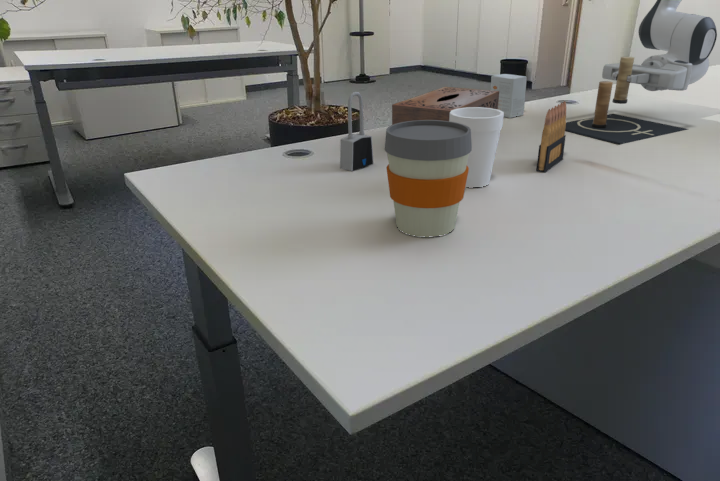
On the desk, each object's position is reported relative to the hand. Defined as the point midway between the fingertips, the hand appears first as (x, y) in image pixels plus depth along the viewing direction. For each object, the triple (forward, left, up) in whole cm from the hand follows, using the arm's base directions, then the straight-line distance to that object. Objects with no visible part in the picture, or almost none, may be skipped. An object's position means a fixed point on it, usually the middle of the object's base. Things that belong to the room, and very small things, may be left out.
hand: (621, 78), depth 135 cm
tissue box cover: (+12, +44, -12) cm, 47 cm away
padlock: (+6, +71, -12) cm, 72 cm away
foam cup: (-15, +58, -12) cm, 61 cm away
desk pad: (-3, +2, -12) cm, 12 cm away
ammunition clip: (-15, +38, -12) cm, 43 cm away
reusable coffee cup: (-27, +77, -12) cm, 83 cm away
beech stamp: (0, +6, -11) cm, 13 cm away
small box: (+25, +13, -12) cm, 31 cm away
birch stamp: (0, -1, -6) cm, 6 cm away
